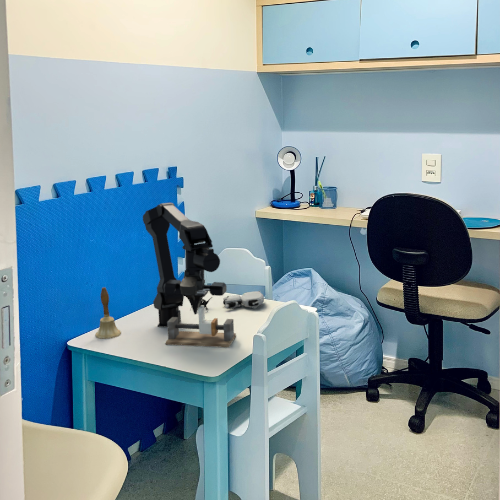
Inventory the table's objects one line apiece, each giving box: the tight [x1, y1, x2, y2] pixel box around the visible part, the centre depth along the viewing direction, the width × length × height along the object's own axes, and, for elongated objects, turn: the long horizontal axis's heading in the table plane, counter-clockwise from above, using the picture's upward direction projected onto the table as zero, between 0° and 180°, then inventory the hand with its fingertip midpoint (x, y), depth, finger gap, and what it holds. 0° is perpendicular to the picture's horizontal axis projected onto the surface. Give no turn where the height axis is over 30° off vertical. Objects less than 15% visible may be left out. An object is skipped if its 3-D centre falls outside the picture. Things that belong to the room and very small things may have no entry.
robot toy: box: [222, 290, 265, 309], centre depth 237 cm, size 12×4×15 cm
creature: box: [189, 296, 213, 314], centre depth 233 cm, size 8×5×8 cm
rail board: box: [165, 317, 237, 348], centre depth 202 cm, size 20×10×7 cm, turn 79°
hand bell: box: [94, 286, 122, 340], centre depth 210 cm, size 8×8×16 cm
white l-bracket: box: [197, 305, 213, 334], centre depth 201 cm, size 4×4×8 cm
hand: (195, 314), depth 201 cm, fingers closed
